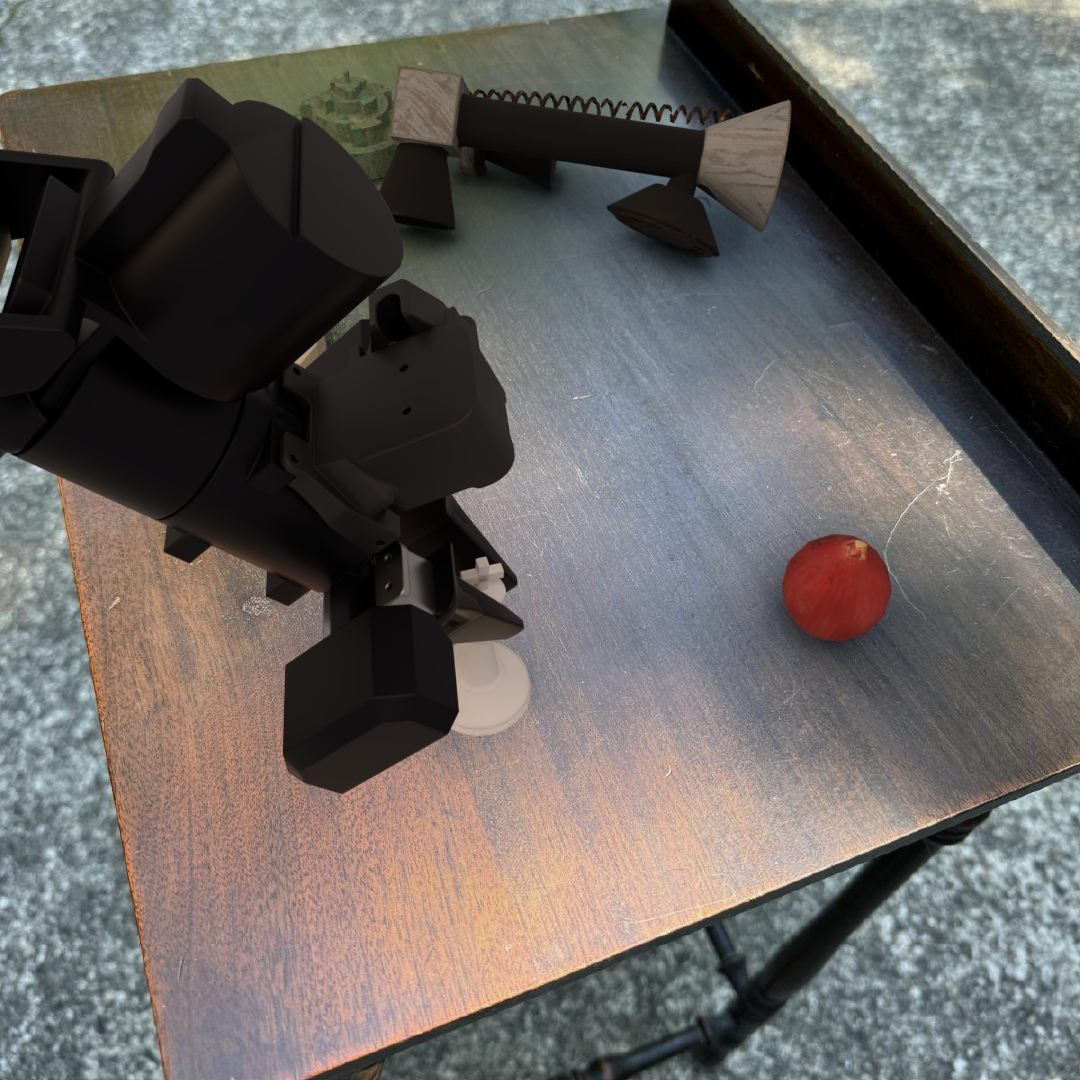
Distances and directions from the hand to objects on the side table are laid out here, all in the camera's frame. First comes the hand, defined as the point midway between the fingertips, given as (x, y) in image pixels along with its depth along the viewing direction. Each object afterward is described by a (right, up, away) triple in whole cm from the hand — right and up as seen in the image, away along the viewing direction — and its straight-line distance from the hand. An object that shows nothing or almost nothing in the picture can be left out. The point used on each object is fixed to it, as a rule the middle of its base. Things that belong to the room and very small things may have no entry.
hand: (513, 608), depth 43 cm
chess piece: (-2, -4, +5) cm, 7 cm away
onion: (+17, -2, +17) cm, 24 cm away
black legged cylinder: (+4, +29, +40) cm, 50 cm away
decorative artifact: (-15, +37, +46) cm, 61 cm away
